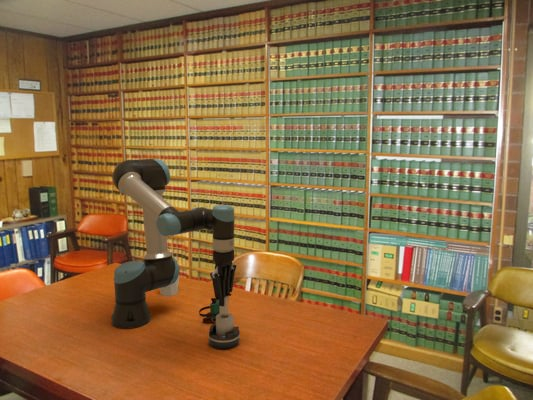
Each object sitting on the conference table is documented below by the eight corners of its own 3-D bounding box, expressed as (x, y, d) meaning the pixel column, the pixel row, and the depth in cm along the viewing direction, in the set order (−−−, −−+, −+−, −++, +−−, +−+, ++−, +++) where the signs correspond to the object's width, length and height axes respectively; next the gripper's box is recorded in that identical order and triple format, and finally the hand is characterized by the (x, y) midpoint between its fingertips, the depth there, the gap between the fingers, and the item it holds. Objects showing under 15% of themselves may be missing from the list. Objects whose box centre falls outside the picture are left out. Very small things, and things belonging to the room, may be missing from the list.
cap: (212, 333, 151) (212, 317, 150) (222, 326, 157) (222, 310, 156) (227, 337, 148) (227, 321, 147) (237, 330, 154) (237, 314, 153)
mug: (171, 297, 197) (171, 276, 195) (156, 294, 200) (155, 274, 198) (185, 288, 208) (185, 269, 206) (170, 286, 211) (170, 267, 209)
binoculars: (201, 292, 176) (224, 291, 174) (204, 316, 178) (226, 316, 175) (193, 299, 168) (217, 299, 166) (196, 325, 169) (220, 325, 167)
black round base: (202, 344, 151) (202, 330, 150) (220, 332, 161) (220, 319, 160) (228, 352, 146) (228, 337, 145) (245, 339, 155) (245, 325, 154)
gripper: (221, 255, 141) (221, 322, 144) (242, 247, 152) (242, 309, 155) (203, 252, 145) (204, 317, 148) (225, 244, 156) (225, 305, 159)
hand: (223, 313), depth 152 cm, fingers closed
